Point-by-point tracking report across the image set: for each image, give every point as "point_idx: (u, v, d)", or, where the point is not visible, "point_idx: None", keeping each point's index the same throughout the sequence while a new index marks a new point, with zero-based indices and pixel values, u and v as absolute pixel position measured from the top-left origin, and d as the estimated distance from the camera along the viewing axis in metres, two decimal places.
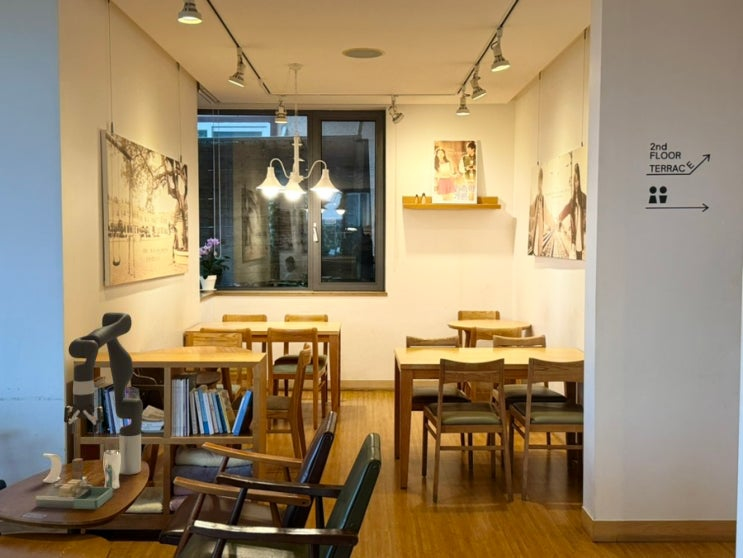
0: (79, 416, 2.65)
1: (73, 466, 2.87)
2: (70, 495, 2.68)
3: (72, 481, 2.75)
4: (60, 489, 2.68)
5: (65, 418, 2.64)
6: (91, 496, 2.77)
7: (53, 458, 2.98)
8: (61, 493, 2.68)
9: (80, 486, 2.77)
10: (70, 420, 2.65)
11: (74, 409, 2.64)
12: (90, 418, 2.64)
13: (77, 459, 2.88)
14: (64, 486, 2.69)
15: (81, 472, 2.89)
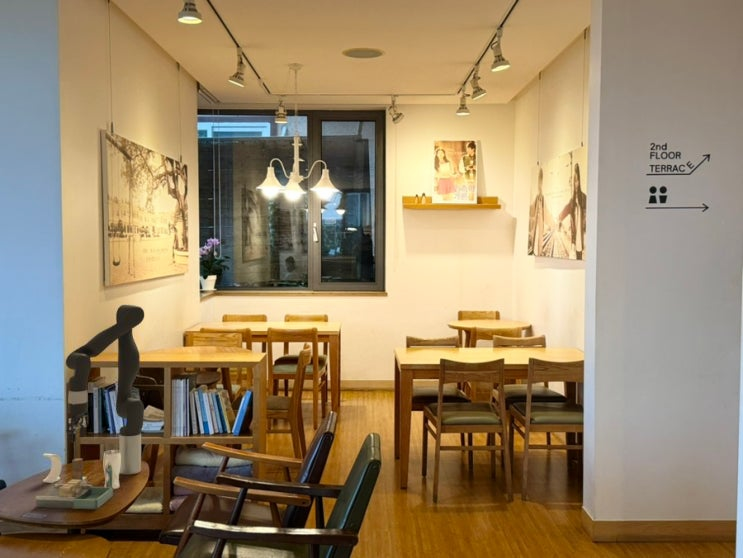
0: (78, 424, 2.86)
1: (73, 466, 2.87)
2: (70, 495, 2.68)
3: (72, 481, 2.75)
4: (60, 489, 2.68)
5: (72, 429, 2.81)
6: (91, 496, 2.77)
7: (53, 458, 2.98)
8: (61, 493, 2.68)
9: (80, 486, 2.77)
10: (75, 429, 2.83)
11: (76, 418, 2.84)
12: (85, 423, 2.91)
13: (77, 459, 2.88)
14: (64, 486, 2.69)
15: (81, 472, 2.89)
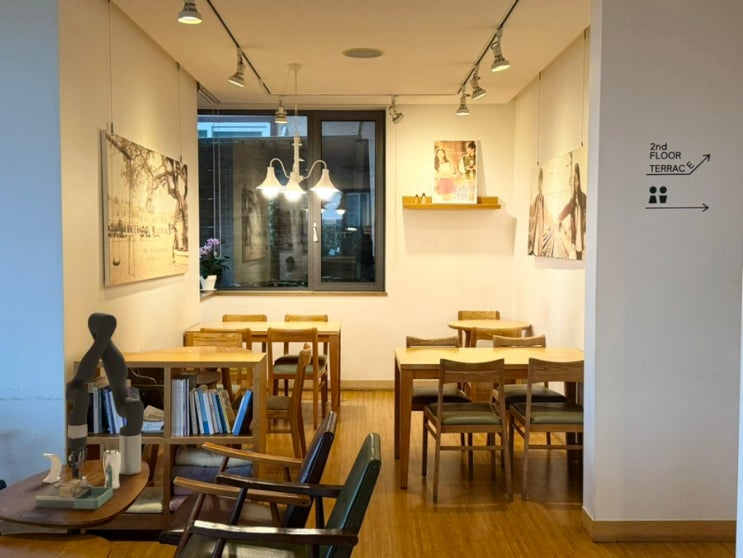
0: None
1: None
2: (70, 495, 2.68)
3: (72, 481, 2.75)
4: (60, 489, 2.68)
5: (75, 465, 2.84)
6: (91, 496, 2.77)
7: (53, 458, 2.98)
8: (61, 493, 2.68)
9: (80, 486, 2.77)
10: (77, 465, 2.86)
11: (76, 452, 2.85)
12: (83, 458, 2.90)
13: None
14: (64, 486, 2.69)
15: (81, 472, 2.89)
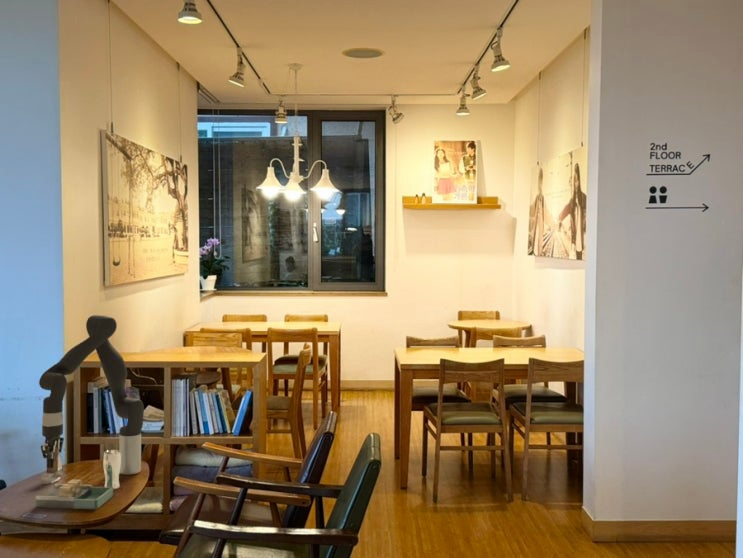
0: None
1: None
2: (70, 495, 2.68)
3: (72, 481, 2.75)
4: (60, 489, 2.68)
5: (49, 455, 2.68)
6: (91, 496, 2.77)
7: None
8: (61, 493, 2.68)
9: (80, 486, 2.77)
10: (52, 455, 2.70)
11: (51, 442, 2.69)
12: (58, 448, 2.74)
13: None
14: (64, 486, 2.69)
15: (56, 463, 2.73)
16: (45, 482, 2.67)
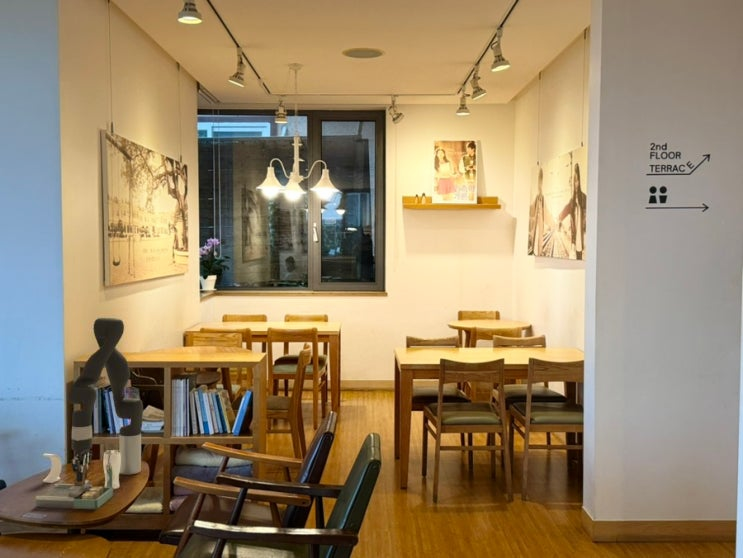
0: None
1: None
2: None
3: (100, 492, 2.75)
4: (90, 496, 2.67)
5: (79, 468, 2.68)
6: None
7: (53, 458, 2.98)
8: (86, 497, 2.67)
9: None
10: (81, 468, 2.70)
11: (80, 455, 2.69)
12: (88, 461, 2.74)
13: None
14: (93, 497, 2.69)
15: (84, 476, 2.73)
16: (72, 495, 2.67)
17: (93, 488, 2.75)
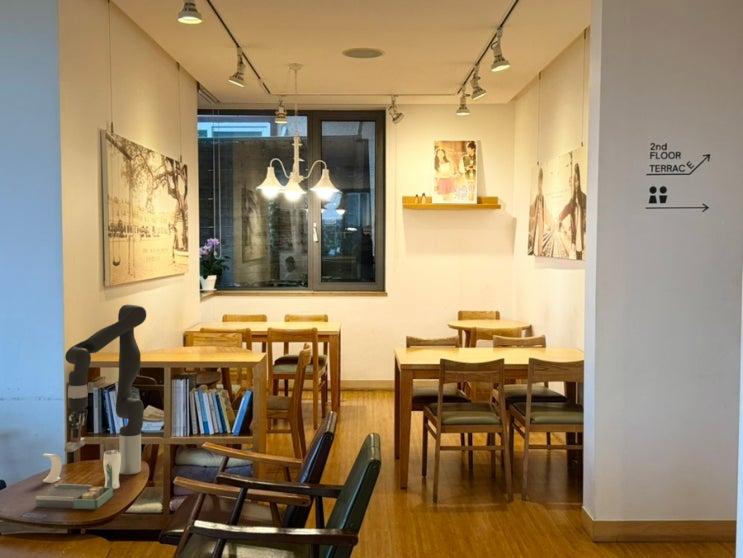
0: None
1: None
2: None
3: (100, 492, 2.75)
4: (90, 496, 2.67)
5: (75, 425, 2.83)
6: None
7: (53, 458, 2.98)
8: (86, 497, 2.67)
9: None
10: (77, 425, 2.85)
11: (76, 413, 2.84)
12: (83, 419, 2.89)
13: None
14: (93, 497, 2.69)
15: (80, 433, 2.89)
16: (68, 450, 2.83)
17: (93, 488, 2.75)
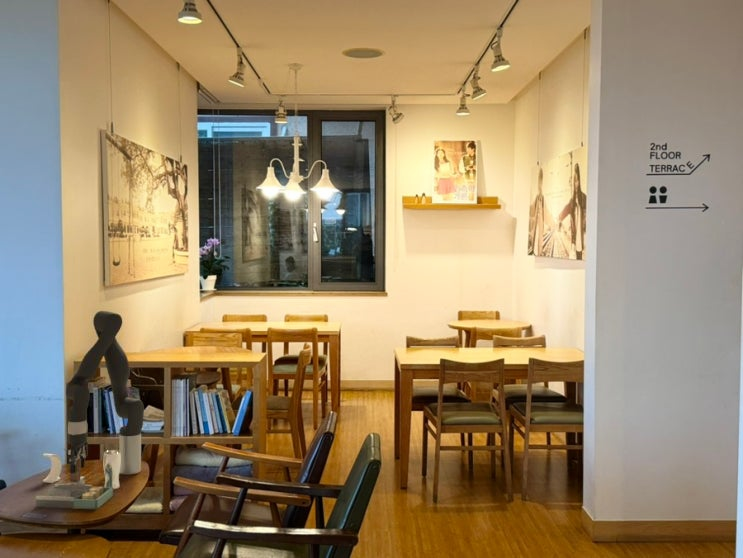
0: (78, 454, 2.87)
1: None
2: None
3: (100, 492, 2.75)
4: (90, 496, 2.67)
5: (72, 460, 2.82)
6: None
7: (53, 458, 2.98)
8: (86, 497, 2.67)
9: None
10: (75, 461, 2.84)
11: (76, 449, 2.85)
12: (84, 453, 2.91)
13: None
14: (93, 497, 2.69)
15: (79, 472, 2.89)
16: None
17: (93, 488, 2.75)
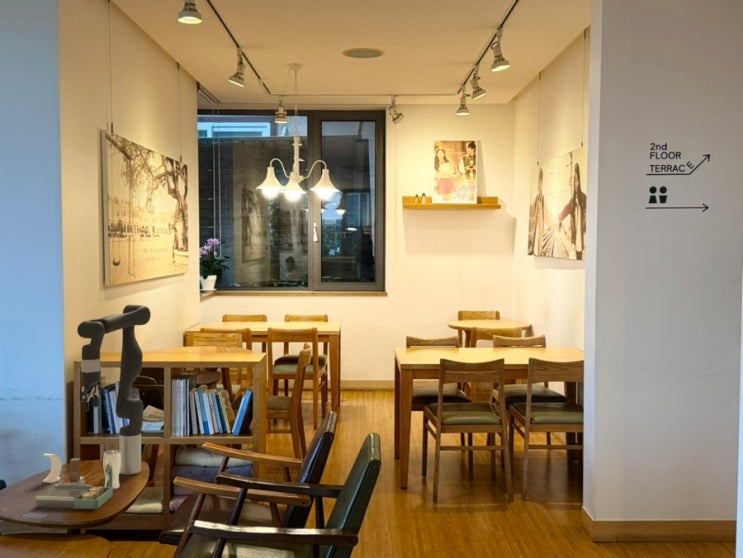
0: (91, 393, 2.83)
1: (71, 466, 2.87)
2: None
3: (100, 492, 2.75)
4: (90, 496, 2.67)
5: (86, 397, 2.77)
6: None
7: (53, 458, 2.98)
8: (86, 497, 2.67)
9: None
10: (88, 398, 2.79)
11: (89, 387, 2.81)
12: (98, 392, 2.87)
13: (75, 459, 2.88)
14: (93, 497, 2.69)
15: (79, 472, 2.89)
16: None
17: (93, 488, 2.75)
